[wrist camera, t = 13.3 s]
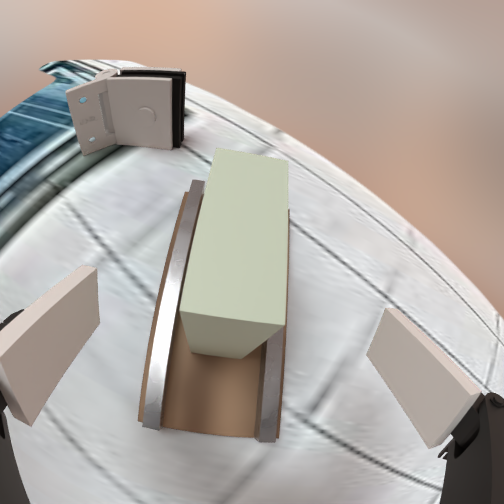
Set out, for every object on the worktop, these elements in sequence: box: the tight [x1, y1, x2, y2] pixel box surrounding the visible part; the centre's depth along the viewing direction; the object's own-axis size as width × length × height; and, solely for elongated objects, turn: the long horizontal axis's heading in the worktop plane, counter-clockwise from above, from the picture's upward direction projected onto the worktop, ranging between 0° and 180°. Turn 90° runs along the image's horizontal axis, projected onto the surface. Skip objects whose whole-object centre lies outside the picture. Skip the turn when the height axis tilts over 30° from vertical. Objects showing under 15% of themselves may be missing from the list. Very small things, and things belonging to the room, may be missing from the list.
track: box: [138, 180, 289, 442], centre depth 22 cm, size 11×22×3 cm, turn 176°
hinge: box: [66, 67, 186, 156], centre depth 27 cm, size 14×5×10 cm, turn 97°
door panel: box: [179, 148, 288, 359], centre depth 17 cm, size 4×9×12 cm, turn 176°
